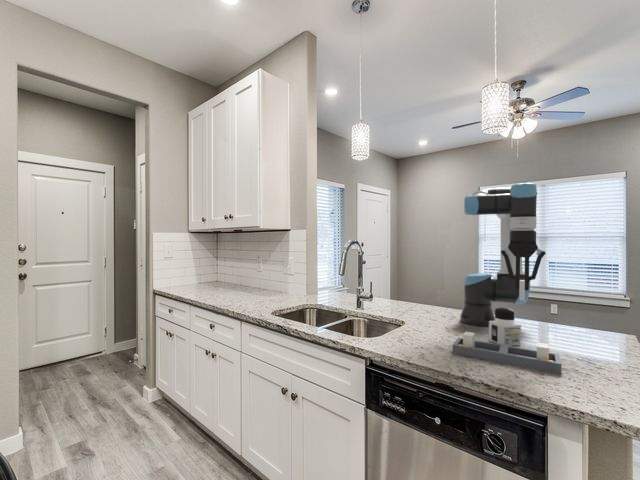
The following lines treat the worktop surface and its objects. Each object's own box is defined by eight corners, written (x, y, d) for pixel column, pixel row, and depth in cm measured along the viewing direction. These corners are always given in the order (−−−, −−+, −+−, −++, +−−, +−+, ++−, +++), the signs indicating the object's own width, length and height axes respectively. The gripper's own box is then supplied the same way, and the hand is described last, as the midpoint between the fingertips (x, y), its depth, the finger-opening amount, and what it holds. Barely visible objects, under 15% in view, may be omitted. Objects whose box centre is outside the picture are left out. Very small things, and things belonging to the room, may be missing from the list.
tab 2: (536, 357, 103) (536, 342, 103) (548, 359, 101) (548, 344, 101) (536, 362, 99) (536, 346, 99) (548, 364, 97) (548, 348, 97)
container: (504, 346, 118) (504, 311, 118) (488, 340, 125) (488, 307, 125) (521, 345, 120) (521, 310, 120) (504, 338, 127) (504, 306, 127)
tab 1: (465, 345, 115) (465, 331, 115) (474, 347, 113) (474, 332, 113) (463, 349, 111) (463, 334, 111) (472, 351, 109) (472, 336, 109)
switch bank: (458, 345, 119) (458, 336, 119) (558, 363, 102) (559, 353, 102) (452, 353, 110) (452, 344, 110) (561, 374, 94) (561, 363, 94)
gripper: (499, 230, 108) (499, 299, 109) (546, 229, 101) (545, 304, 101) (501, 230, 114) (500, 295, 115) (546, 229, 107) (545, 299, 108)
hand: (522, 299), depth 108 cm, fingers closed
